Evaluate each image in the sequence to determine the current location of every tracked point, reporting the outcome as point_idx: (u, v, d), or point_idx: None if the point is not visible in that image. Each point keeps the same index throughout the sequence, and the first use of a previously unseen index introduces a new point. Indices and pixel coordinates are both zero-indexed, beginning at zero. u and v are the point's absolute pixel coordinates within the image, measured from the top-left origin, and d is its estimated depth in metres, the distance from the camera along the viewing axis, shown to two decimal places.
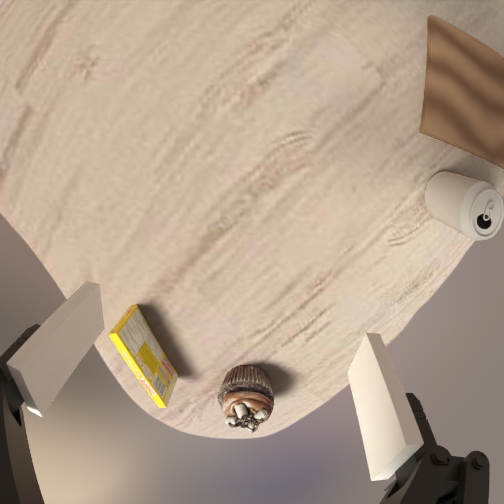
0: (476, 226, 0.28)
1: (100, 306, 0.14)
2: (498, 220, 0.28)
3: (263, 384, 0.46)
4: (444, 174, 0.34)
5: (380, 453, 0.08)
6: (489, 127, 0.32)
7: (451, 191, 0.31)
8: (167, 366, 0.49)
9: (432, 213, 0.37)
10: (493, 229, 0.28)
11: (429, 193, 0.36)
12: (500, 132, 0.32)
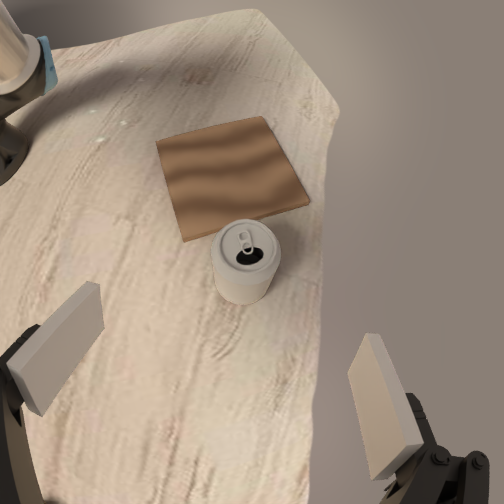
0: (242, 267, 0.30)
1: (100, 306, 0.14)
2: (270, 241, 0.32)
3: None
4: None
5: (380, 453, 0.08)
6: (254, 185, 0.46)
7: None
8: None
9: (232, 300, 0.38)
10: (271, 253, 0.31)
11: (216, 285, 0.39)
12: (270, 179, 0.47)
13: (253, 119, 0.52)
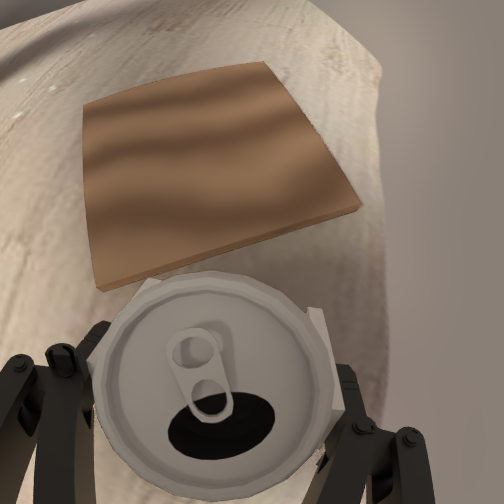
0: (191, 466, 0.06)
1: None
2: (303, 366, 0.08)
3: None
4: None
5: None
6: (249, 170, 0.22)
7: None
8: None
9: (197, 439, 0.14)
10: (307, 414, 0.07)
11: None
12: (282, 160, 0.23)
13: (249, 65, 0.28)
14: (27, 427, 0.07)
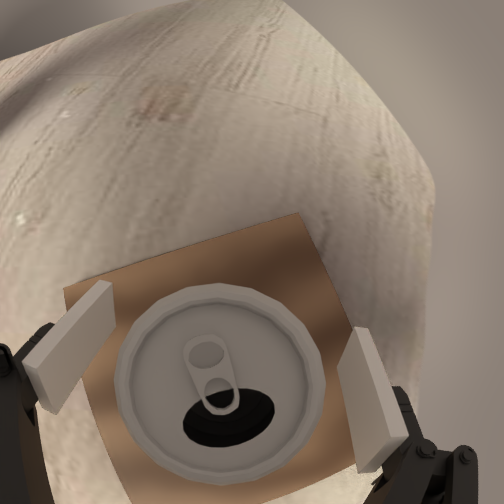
0: (203, 453, 0.08)
1: (112, 304, 0.14)
2: (299, 366, 0.09)
3: None
4: None
5: (366, 445, 0.09)
6: None
7: None
8: None
9: (200, 435, 0.15)
10: (301, 407, 0.08)
11: None
12: None
13: (280, 224, 0.24)
14: None
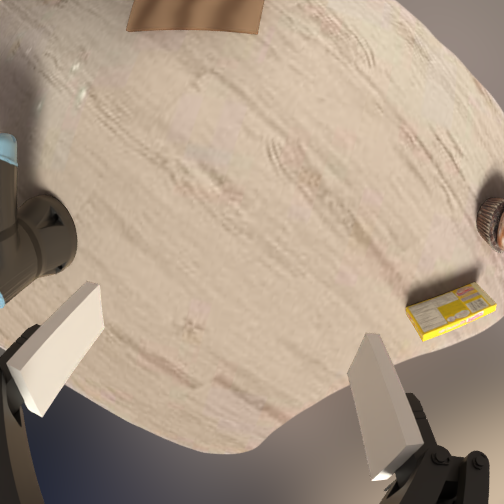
0: None
1: (100, 306, 0.14)
2: None
3: (495, 207, 0.36)
4: None
5: (380, 453, 0.08)
6: None
7: None
8: (464, 291, 0.45)
9: None
10: None
11: None
12: None
13: None
14: None
